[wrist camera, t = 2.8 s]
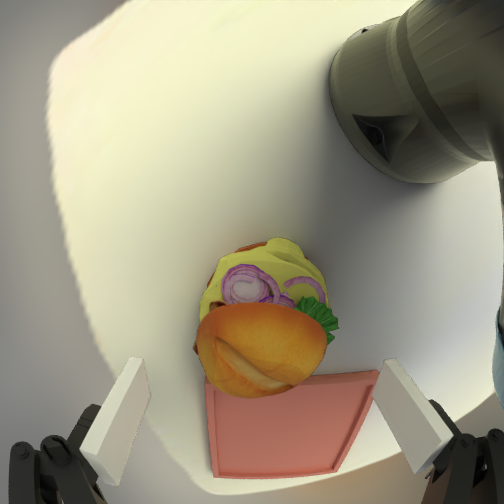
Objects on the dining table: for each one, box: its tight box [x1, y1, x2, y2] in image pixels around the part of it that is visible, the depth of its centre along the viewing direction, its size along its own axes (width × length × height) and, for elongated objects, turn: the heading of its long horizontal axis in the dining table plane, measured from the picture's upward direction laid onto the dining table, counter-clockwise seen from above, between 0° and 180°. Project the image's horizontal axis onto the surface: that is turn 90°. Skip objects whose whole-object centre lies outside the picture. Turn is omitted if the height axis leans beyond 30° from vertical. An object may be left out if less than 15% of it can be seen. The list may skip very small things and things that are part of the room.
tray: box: [205, 370, 379, 479], centre depth 27 cm, size 20×18×2 cm
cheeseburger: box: [193, 237, 339, 399], centre depth 19 cm, size 10×11×10 cm
